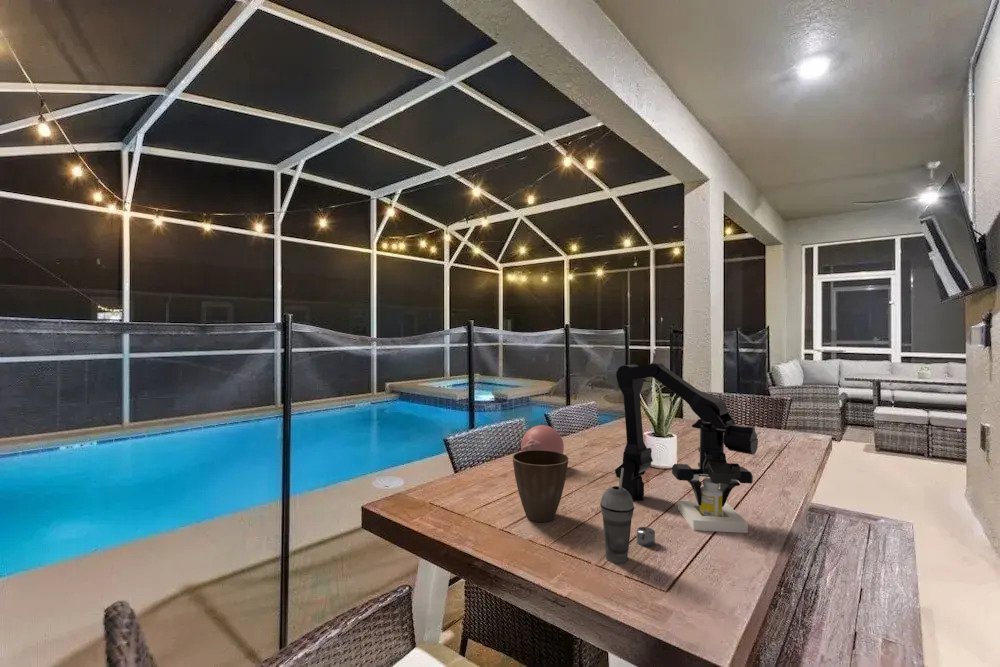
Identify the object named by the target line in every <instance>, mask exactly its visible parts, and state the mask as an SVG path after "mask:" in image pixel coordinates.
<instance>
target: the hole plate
mask: <svg viewBox="0 0 1000 667" xmlns="http://www.w3.org/2000/svg"><path fill="white" fill-rule="evenodd" d="M677 506H678V507H677V509H678V512H679V513H680V515H682V517H683V518H684V519H685V521H686V522H687V524H688V526H690V528H691V529H692V531H705V532H721V533H722V532H724V533H727V532H728V533H739V534H740V533H741V534H742V533H743V534H748V533H749V532H748V531H749V523H748V522H747V521H746V520H745V518H744V517H742V516H741V515H740V514H739V513H738V512H737V511H736V510H735V509H734V508H733V507H732V506H731V505H729V504H728V503H727V502H725V505H724V507H722V517H716V516H702V515H701V514H700V506H699V505H698V502H697V501H692V500H690V501H689V500H678V501H677Z"/></svg>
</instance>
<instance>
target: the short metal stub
mask: <svg viewBox="0 0 1000 667" xmlns="http://www.w3.org/2000/svg"><path fill="white" fill-rule="evenodd" d="M655 539H656V530H654V529H653V528H651V527H646V526H639V527H637V529H636V544H638V545H639V546H640V547H644V548H653V547H655V544H656V542H655V541H656V540H655Z"/></svg>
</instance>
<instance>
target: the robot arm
mask: <svg viewBox="0 0 1000 667" xmlns="http://www.w3.org/2000/svg"><path fill="white" fill-rule="evenodd" d="M615 377H616V382H617V386H618V388H619V390H620V392H621V393H622V395H623V405H624V406H623V407H624V421H625V435H626V444H625V447H624V451H623V452H622V453H623V455H622V464H621V465H619V466H618V467H617V468H616V469H614V474H615V476H616V478H618V481H619V482H618V485H619V484H620V477H621V469H622V468H624V471H623V479H622V488H624V489H626V490H627V491H628V492H629V494H630V495H631V497H632V499H633V501H644V496H645V483H644V481H643V477H642V476H645V475H646V471H648V470H649V469H650V468H651V465H652V463H653V462H654V460H653V457H652V451H653V450H652V447H647V446H646V444H645V442H644V432H643V431H644V430H643V421H642V420H643V418H642V406H641V405H642V404H641V392H642V389H643V386H644V380H645V379H647V378H654V379H655V380H656V381H658V382H659V383H660V384H662V385H663V386H664V387H666V388H667V389H668V390H670V391H671V392H672V393H674V394H675V395H676V396H678V397H679V398H681V399H682V400H683V401H685V402H686V403H687V404H688V406H689V407H690V410H692V412H693V413H694V414H695V415H696V416H697V417H699V419H697V421H696V422H694V423H692V425H691V428H693V429H694V428H695V429H699V446H698V450H697V451H698V453H699V462H698V463H697V467H698V468H693V467H691V466H690V465H689V464H687V463H685V464H684V463H683V464H682V463H674V464H673V465H672V467H671V474H672V475H673V476H674V477H675V478H676V480H677V481H678V480H679V481H686V482H688V483H689V484H690V486H691V488H692V491H693V493H694V497H695V499H696V502H698V505H699V506H701V487H702V485H703V481H700V477H704V478H705V477H706V478H710V480H711V482H712V483H715V484H719V483H720V487H719V489H720V490H721V491H722V507H724V505H725V503H727V500H728V498H729V496H730V493H731V491H732V490H733V489H734V488H735V487H739V486H741V484H753V482H754V481H753V480H754V477H753V476H754V475H753V474H752V472H751V471H749V470H748V469H747V468H745V467H743V466H740V465H739V463H729V462H728V461H727V456H726V453H725V452H724V451H725V448H727V449H728V451H733V452H736V453H740V454H741V453H742V454H748V455H753V456H755V455H756V453H757V450H758V445H759V439H758V437H757V436H758V435H757V432H756V427H755V426H751V425H748V426H747V425H739V424H737V423H736V421H735V420H734V418H733V417H732V416H731V414H730V413H729V411H728V407H727V406H728V405H727V404H726V402H725V401H724V400H722V399H720V398H718V397H716V396H714V395H712V394H709V393H706V392H704V391H701V390H700V389H697V388H696V387H694V386H693V385H692V384H690V383H689V382H688V381H686V380H684V379H683V378H682V377H681V376H679V375H678V374H676V373H675V372H674V371H672V370H671V369H669V368H667V367H666V366H665V364H663V363H661V362H652V363H649V364H643V365H637V364H627V365H626V364H624V365H621V366H620V367H618V368H617V370H616V372H615Z"/></svg>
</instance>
